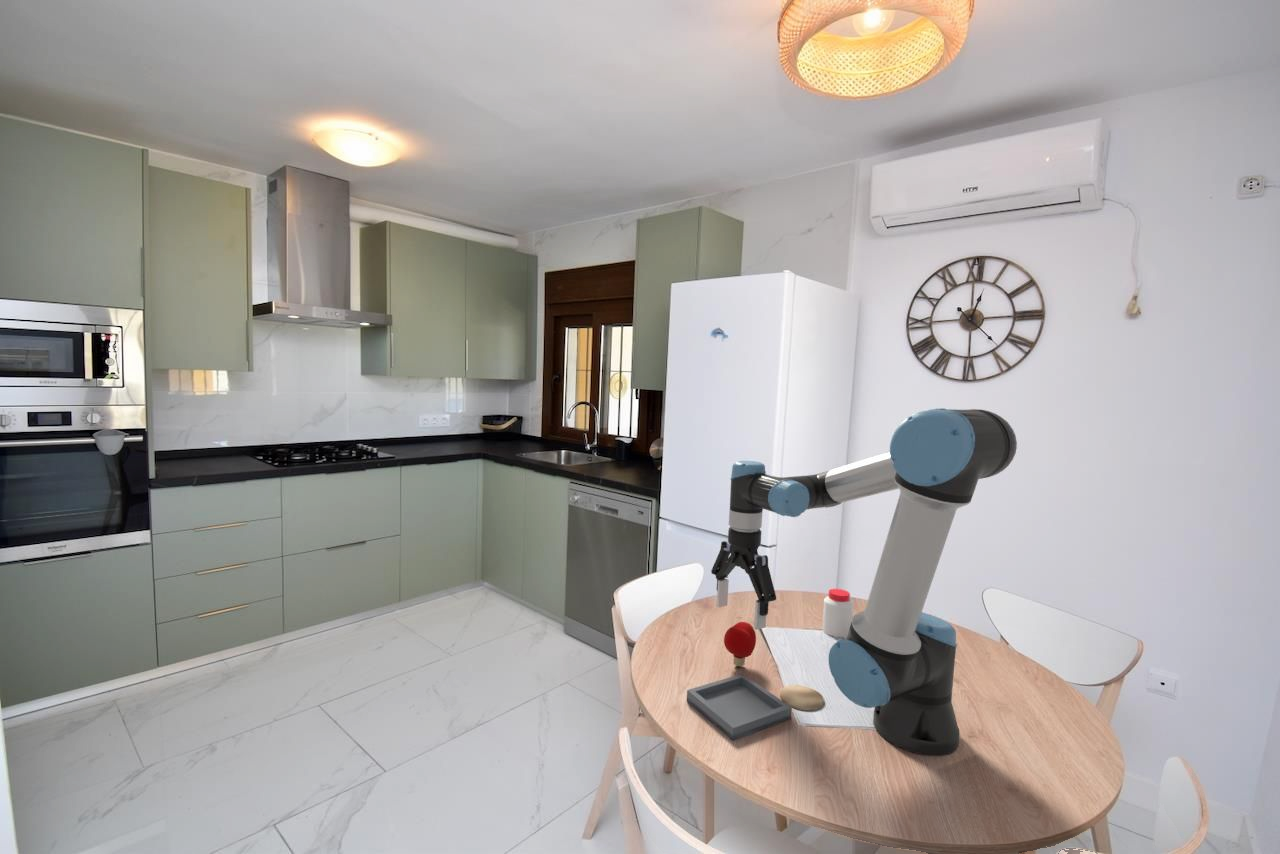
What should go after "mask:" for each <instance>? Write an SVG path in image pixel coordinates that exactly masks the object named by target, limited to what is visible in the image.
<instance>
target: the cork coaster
mask: <svg viewBox="0 0 1280 854" xmlns="http://www.w3.org/2000/svg"><path fill="white" fill-rule="evenodd" d="M779 697H780V698H779V699H780V700H782V701H783V702H785V703H786V704H788V705H789V706H791V707H792V708H793V709H797V710H801V711H816V710H819V709H821V708H822V707H823V706H824V701H825V700H824V697H823V695H822V694H821V693H820V692H819V691H817V690H816V689H813V688H811V687H809V686H805V685H799V684H792V685H787V686H784V687H782V688H781V689H780V691H779Z"/></svg>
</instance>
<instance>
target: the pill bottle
mask: <svg viewBox="0 0 1280 854" xmlns="http://www.w3.org/2000/svg"><path fill="white" fill-rule="evenodd" d="M854 607H855V603H854V601H853V600H852V599H851V593H850V592H849V591H847V590H846V589H841V588H831V589H828V595H827V596H825V598H824V599H823V607H822V610H823V611H822V624H821V626H822V627H821V629H822V631H823V633H825V634H826V635H828V636H831V637H835V638H842V639H845V638H846V637H847V635H848V632H849V628H850V625H851V622H852V619H853V617H854V610H855V608H854Z"/></svg>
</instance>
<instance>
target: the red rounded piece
mask: <svg viewBox="0 0 1280 854" xmlns="http://www.w3.org/2000/svg"><path fill="white" fill-rule="evenodd" d="M723 637H724V638H723V644H724V647H725V649H726V650H727V652H728V653H730V654H731V655H732V656H733V659H732V660H733V665H735V666H736V667H737V668H741V667H743V666H744V665H745V662H746V658H748V657H750V656H751V655H752V654H753V652H754V650H755V647H756V644H757V643H756V642H757V636H756V631H755V629H754V626H753V625H751V624H750V622H749V623H748V622H747V621H739V622H737V623H735V624H734V625H732V626H731V627H729V628H728V629H727V630H726V632H725V634H724V636H723Z"/></svg>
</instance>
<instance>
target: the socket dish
mask: <svg viewBox="0 0 1280 854" xmlns="http://www.w3.org/2000/svg"><path fill="white" fill-rule="evenodd" d="M686 702H687V703H688V704H690V705H691V706H692V707H693V708H694V709H695V710H697V711H698V712H699V713H700V714H701V715H703V717H705V718H706V719H707V720H708V721H710V723H712V724H713V725H714V726H715V727H717V728H718V729H719V730H720V731H721V732H722V733H723V734H725V735H726V736H727V737H728V738H729V739H730V740H732V741H735V740H737V739H740V738H743V737H746V736H748V735H751V734H754V733H757V732H760V731H762V730H764V729H767V728H770V727H773V726H775V725H778V724H780V723H783V722H787V721H789V720H792V710H793V709H792V708H793V707H791V706H789V705H788V704H786V703H785V702H783V701H782V700H781V698H779V697H777V696H776V695H775V694H773V693H772V692H770V691H769V690H768V689H766V688H764V687H763V686H762V685H760V684H758V683H757V682H756V681H754V680H752V679H751V678H750V677H748V676H747V675H746V674H744V673H740V674H736V675H733V676H730V677H727V678H723V679H719V680H716V681H713V682H710V683H707V684H703V685H700V686H696V687H694V688H689V689H687V690H686Z"/></svg>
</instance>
